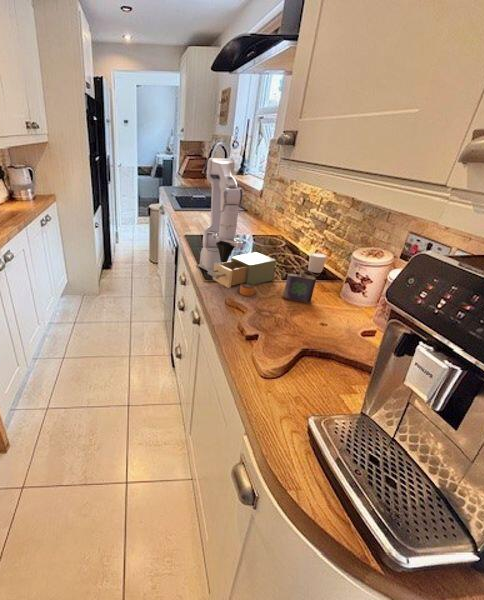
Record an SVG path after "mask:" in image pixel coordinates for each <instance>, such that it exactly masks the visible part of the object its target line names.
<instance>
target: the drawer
mask: <svg viewBox="0 0 484 600" xmlns="http://www.w3.org/2000/svg"><path fill="white" fill-rule="evenodd" d="M248 268H249V267H248V266H246V265H244V264H242V263H240V262H237V261H235V260H234V261H231V260H228V261H227V262H225V263H221V264H219V263H214V271H211V270H209V271H207V272H206V273H207V274H208V275H210V276H211V277H212V280H213V281H215V282H217V283H218V284H220V285H222V286H224V287H226V288H228V289H231V288H232V286H236V285H239V284H240V285H241V284H242V283H244V282H246V281H247V274H248Z"/></svg>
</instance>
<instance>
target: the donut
mask: <svg viewBox="0 0 484 600" xmlns="http://www.w3.org/2000/svg"><path fill="white" fill-rule="evenodd" d="M255 289H256V286H255V284H254V285H253V284H250V283H243V284H242V283H240V285H239V293H240V294H241V295H243V296H247V297H248V296H253V295H254V294H255Z"/></svg>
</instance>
